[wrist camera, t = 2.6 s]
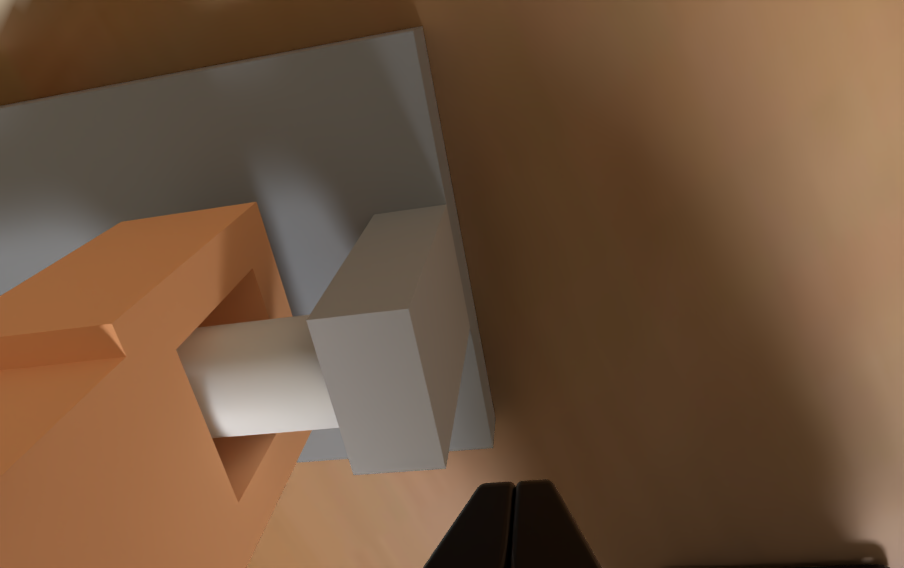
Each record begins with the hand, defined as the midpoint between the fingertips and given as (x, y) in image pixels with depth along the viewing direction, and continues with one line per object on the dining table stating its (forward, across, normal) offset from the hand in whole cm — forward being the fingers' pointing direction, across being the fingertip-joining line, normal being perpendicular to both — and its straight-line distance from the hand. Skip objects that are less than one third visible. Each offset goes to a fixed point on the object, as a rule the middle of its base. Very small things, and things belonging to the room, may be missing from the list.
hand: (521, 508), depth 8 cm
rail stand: (+8, +10, 0) cm, 14 cm away
